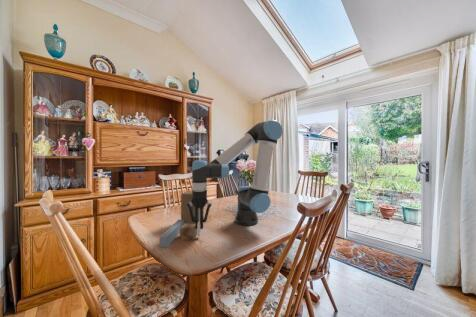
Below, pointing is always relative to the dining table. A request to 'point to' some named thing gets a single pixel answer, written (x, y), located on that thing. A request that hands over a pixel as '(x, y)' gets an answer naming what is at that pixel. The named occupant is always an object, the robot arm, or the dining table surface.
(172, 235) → the bar
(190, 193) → the wooden block
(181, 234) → the walnut block
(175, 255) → the dining table surface
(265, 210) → the robot arm
